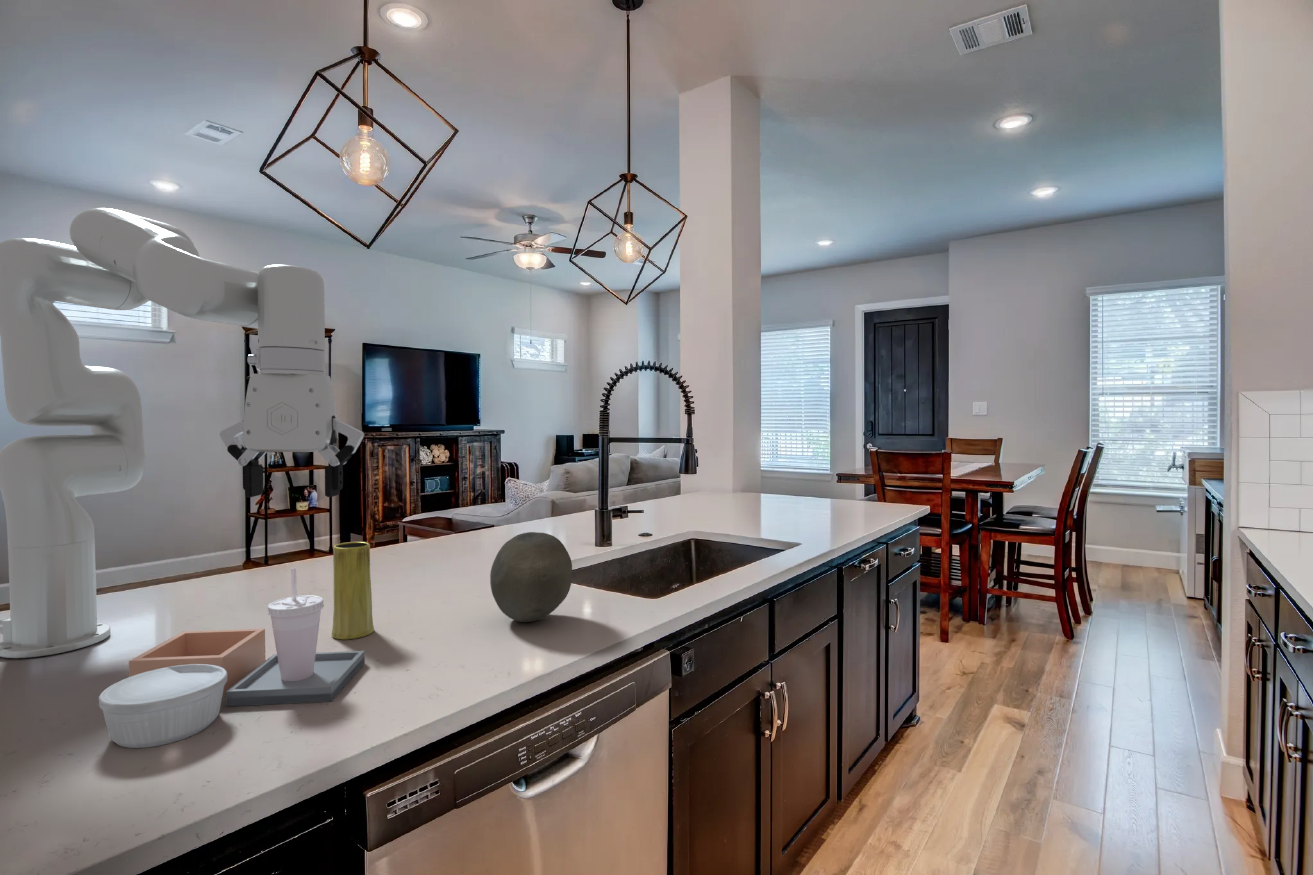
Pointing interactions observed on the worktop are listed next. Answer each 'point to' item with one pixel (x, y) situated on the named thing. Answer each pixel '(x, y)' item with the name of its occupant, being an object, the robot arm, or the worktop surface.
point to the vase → (352, 591)
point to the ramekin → (163, 704)
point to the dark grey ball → (531, 576)
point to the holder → (207, 652)
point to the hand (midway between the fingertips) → (293, 495)
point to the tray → (319, 687)
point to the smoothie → (296, 632)
